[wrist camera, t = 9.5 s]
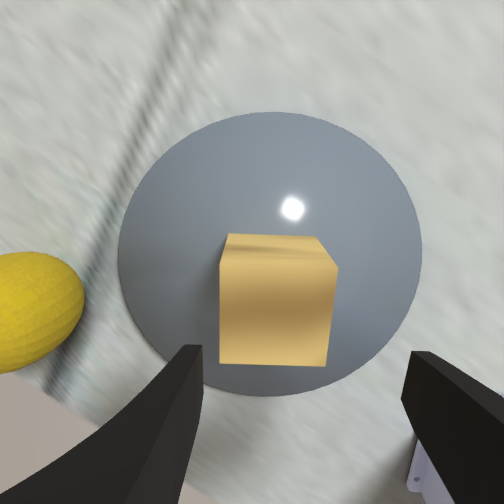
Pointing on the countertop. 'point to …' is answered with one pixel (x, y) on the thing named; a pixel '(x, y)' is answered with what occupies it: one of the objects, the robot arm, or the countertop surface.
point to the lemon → (35, 307)
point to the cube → (275, 300)
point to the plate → (269, 223)
